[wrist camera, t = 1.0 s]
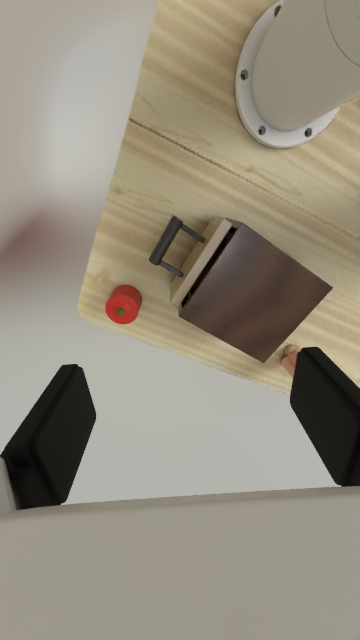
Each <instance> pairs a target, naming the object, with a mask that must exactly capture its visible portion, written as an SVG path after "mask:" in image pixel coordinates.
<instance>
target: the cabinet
mask: <svg viewBox="0 0 360 640" xmlns="http://www.w3.org/2000/svg"><path fill="white" fill-rule="evenodd" d="M225 219H226V220H228V221H229V222H230V223H232V224H233V225H232V226H231V228H230V229H229V232H231V233H233V234H232V235H231V237H230V238H229V240H228V241H227V243H226V244H225V246H224V247H223V249H222V250H221V252H220V253H219V255H218V256H217V258H216V259H215V261H214V262H213V264H212V265H211V267H210V268H209V270H208V271H207V273H206V274H205V276H204V277H203V279H202V280H201V282H200V283H199V284H198V286H197V287H196V289H195V290H194V292H193V293H192V295H191V296H190V298H189V299H188V293H187V294H186V296H185V297H184V299H183V300H182V302H181V303H180V305H179V317H181V318H183V319H185V320H186V321H188V322H190V323H192V324H194V325H195V326H197V327H199V328H201V329H203V330H204V331H206V332H208V333H210V334H212V335H214V336H215V337H217V338H219V339H221V340H223V341H224V342H226V343H228V344H230V345H232V346H233V347H235V348H237V349H239V350H241V351H243V352H244V353H246V354H248V355H250V356H252V357H253V358H255V359H257V360H259V361H261V362H262V363H264V362H265V361H266V360H267V359H268V358H269V357H270V356H271V355H272V354H273V353H274V352H275V350H276V349H277V348H278V347H279V346H280V345H281V344H282V343H283V342H284V341H285V340H286V339H287V337H288V336H289V335H290V334H291V333H292V332H293V331H294V330H295V329H296V328H297V327H298V325H299V324H300V323H301V322H302V321H303V320H304V319H305V318H306V317H307V316H308V315H309V313H310V312H311V311H312V310H313V309H314V308H315V307H316V306H317V305H318V304H319V303H320V302H321V300H322V299H323V298H324V297H325V296H326V295H327V294H328V293H329V292H330V291H331V290H332V288H333V287H332V286H330V285H329V284H328V283H326V282H325V281H323V280H322V279H321V278H319V277H318V276H316V275H315V274H314V273H312V272H311V271H309V270H308V269H307V268H305V267H304V266H302V265H301V264H300V263H298V262H297V261H295V260H294V259H293V258H291V257H290V256H288V255H287V254H286V253H284V252H283V251H281V250H280V249H279V248H277V247H276V246H274V245H273V244H272V243H270V242H269V241H267V240H266V239H265V238H263V237H262V236H260V235H259V234H258V233H256V232H255V231H253V230H252V229H251V228H249V227H248V226H246V225H245V224H244V223H242V222H239V221H235V220H232V219H229V218H225Z"/></svg>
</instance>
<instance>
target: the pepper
mask: <svg viewBox="0 0 360 640" xmlns="http://www.w3.org/2000/svg"><path fill="white" fill-rule="evenodd" d="M141 302H142V298H141V295H140V293H139V291H138V290H137V289H135V288H134V287H132V286H128V285H123V286H120V287H118V288H117V289H116V290H115V291H114V292H113V294H112V295H111V297H110V298H109V300H108V301H107V303H106V313H107V315H108V317H109V318H110V319H111V320H112V321H114V322H116V323H119V324H128V323H131V322H132V321H134V320H135V319H136V317H137V315H138V312H139V309H140V306H141Z"/></svg>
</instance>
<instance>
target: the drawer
mask: <svg viewBox="0 0 360 640" xmlns="http://www.w3.org/2000/svg"><path fill="white" fill-rule="evenodd" d="M232 225H233V224H232V223H230V222H229V221H228V220H226V219H225V218H222V217H219V216H216V215H214V216H213V217H212V219H211V221H210V222H209V224H208V225H207V227H206V229H205V230H204V232H203V234H202V235H199V234H198V233H196V232H195V231H193V230H192V229H190V228H189V227H187V226H186V225H184V224H183V221H182V220H180V219H179V218H177V217H176V216H174V215H173V216H172V218H171V220H170V222H169V223H168V225H167V227H166V229H165V231H164V232H163V234H162V236H161V238H160V240H159V241H158V243H157V245H156V247H155V249H154V250H153V252H152V254H151V256H150V258H149V261H150V262H151V263H153V264H154V265H161V266H162V267H164V268H166V269H167V270H169V271H171V272H172V273H174V274H176V277H175V279H174V280H173V282H172V283H171V286H170V304H172V305H174V306H176V307H178V306H179V305H180V303H181V302H182V300H183V299H184V297H185V296H186V294H187V293H188V299H189V298H190V296H191V295H192V293H193V292H194V290H195V289H196V287H197V286H198V284H199V283H200V282H201V280H202V279H203V277H204V276H205V274H206V273H207V271H208V270H209V268H210V267H211V265H212V264H213V262H214V261H215V259H216V258H217V256H218V255H219V253H220V252H221V250H222V249H223V247H224V246H225V244H226V243H227V241H228V240H229V238H230V237H231V235H232V234H233V233H231V232H229V229H230V228H231V226H232ZM179 229H182V230H183V231H185V232H186V233H188V234H190V235H191V236H193V237H194V238H196V239H197V240H198V242H197V243H196V245H195V246H194V248H193V250H192V251H191V253H190V254H189V256H188V258H187V259H186V261H185V262H184V264H183V266H182V267H181V269H180V271H179V270H178V269H176V268H175V267H173V266H171V265H170V264H168V263H166V262H165V261H163V260H162V258H163V256H164V255H165V253H166V251H167V249H168V248H169V246H170V244H171V242H172V241H173V239H174V237H175V236H176V234H177V232H178V230H179Z"/></svg>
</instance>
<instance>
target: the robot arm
mask: <svg viewBox="0 0 360 640" xmlns="http://www.w3.org/2000/svg"><path fill="white" fill-rule="evenodd" d="M275 15H277V16H276V17H275ZM241 76H244V80H242V79H241ZM358 95H360V0H278V1H277V2H276V3H275V4H273V5H272V6H271V7H270V8H268V9H267V10H266V11H265V13H264V14H263V15H262V16H261V17H260V18H259V19H258V21H257V22H256V24H255V25H254V27H253V28H252V30H251V32H250V33H249V35H248V37H247V39H246V42H245V44H244V46H243V49H242V52H241V54H240V57H239V60H238V65H237V70H236V76H235V98H236V105H237V109H238V113H239V116H240V118H241V120H242V123H243V125H244V126H245V128H246V129H247V131H248V132H249V134H250V135H251V136H252V137H253V138H255V139H256V140H257V141H258V142H260V143H262V144H263V145H265V146H268V147H272V148H278V149H286V148H291V147H295V146H298V145H300V144H303V143H305V142H307V141H309V140H311V139H312V138H314V137H315V136H316V135H317V134H319V133H320V132H321V131H322V130H323V129H324V128H325V127H326V126H327V125H328V124H329V123H330V122H331V120H332V119H333V118H334V116H335V115H336V113H337V112H338V111H339V109H340V107H341V105H342V104H344V103H346V102H348V101H349V100H351V99H353V98H354V97H356V96H358ZM259 130H261V134H259V133H258V131H259ZM305 132H306V133H307V135H306V136H305ZM290 404H291V407H292V409H293V411H294V412H295V414H296V416H297V417H298V419H299V421H300V423H301V424H302V426H303V428H304V430H305V431H306V433H307V435H308V437H309V438H310V440H311V442H312V444H313V445H314V447H315V448H316V451H317V452H318V454H319V456H320V457H321V459H322V461H323V463H324V464H325V466H326V468H327V470H328V471H329V473H330V475H331V477H332V478H333V480H334V482H335V483H336V484H338V485H341V487H324V488H307V489H290V490H273V491H256V492H240V493H225V494H208V495H193V496H180V497H179V496H178V497H163V498H149V499H134V500H120V501H106V502H93V503H81V504H69V505H61V503H64V502H65V501H66V500H67V498H68V495H69V492H70V489H71V486H72V484H73V481H74V478H75V476H76V473H77V470H78V467H79V465H80V462H81V459H82V456H83V453H84V450H85V448H86V445H87V442H88V440H89V437H90V434H91V431H92V429H93V426H94V423H95V420H96V411H95V408H94V405H93V401H92V398H91V395H90V391H89V388H88V385H87V381H86V378H85V375H84V372H83V369H82V367H79V366H78V365H77V364H70V365H62V366H61V367H60V369H59V370H58V372H57V373H56V375H55V376H54V377H53V379H52V380H51V382H50V383H49V385H48V386H47V388H46V389H45V390H44V392H43V393H42V395H41V396H40V398H39V399H38V401H37V402H36V403H35V405H34V406H33V408H32V409H31V411H30V412H29V414H28V415H27V416H26V418H25V420H24V421H23V422H22V424H21V425H20V427H19V428H18V430H17V431H16V432H15V434H14V435H13V437H12V438H11V440H10V441H9V442H8V444H7V445H6V447H5V449H4V451H3V452H2V454H1V455H0V640H360V388H359V387H358V386H357V385H356V384H355V383H354V382H353V381H352V380H351V379H350V378H349V377H348V376H347V375H346V374H345V373H344V372H343V371H342V370H341V369H340V368H339V367H338V366H337V365H336V364H335V363H334V362H333V361H332V360H331V359H330V358H329V357H328V356H327V355H326V354H325V353H324V352H323V351H322V350H321V349H320V348H318V347H306V348H302V350H301V351H299V352H298V353H297V358H296V364H295V370H294V376H293V383H292V389H291V395H290Z"/></svg>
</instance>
